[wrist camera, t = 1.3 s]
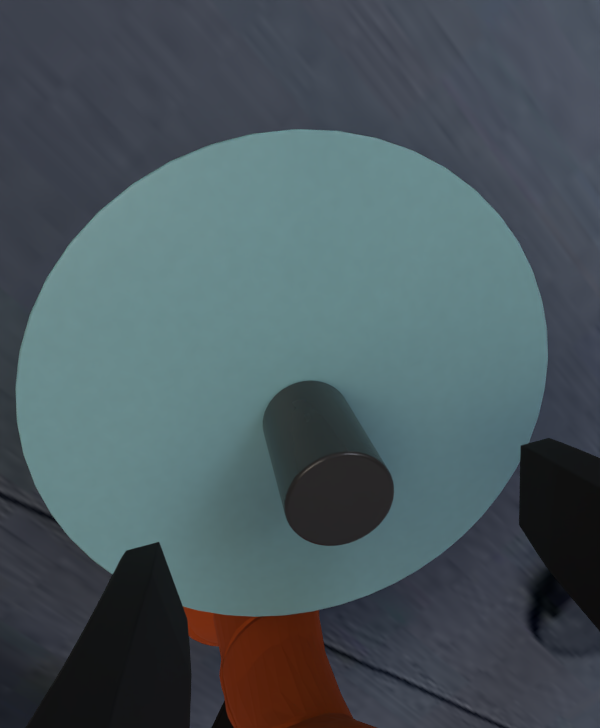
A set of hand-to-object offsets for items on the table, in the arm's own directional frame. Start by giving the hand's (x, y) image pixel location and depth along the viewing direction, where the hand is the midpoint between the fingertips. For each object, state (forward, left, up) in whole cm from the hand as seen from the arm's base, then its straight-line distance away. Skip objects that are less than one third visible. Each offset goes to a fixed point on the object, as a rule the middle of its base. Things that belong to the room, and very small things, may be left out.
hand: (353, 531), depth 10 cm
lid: (0, 0, -5) cm, 5 cm away
